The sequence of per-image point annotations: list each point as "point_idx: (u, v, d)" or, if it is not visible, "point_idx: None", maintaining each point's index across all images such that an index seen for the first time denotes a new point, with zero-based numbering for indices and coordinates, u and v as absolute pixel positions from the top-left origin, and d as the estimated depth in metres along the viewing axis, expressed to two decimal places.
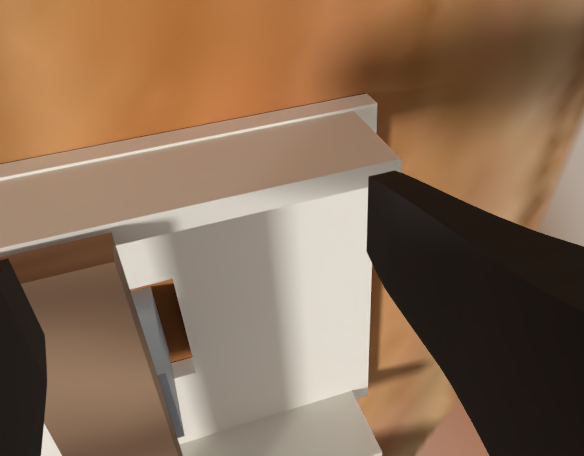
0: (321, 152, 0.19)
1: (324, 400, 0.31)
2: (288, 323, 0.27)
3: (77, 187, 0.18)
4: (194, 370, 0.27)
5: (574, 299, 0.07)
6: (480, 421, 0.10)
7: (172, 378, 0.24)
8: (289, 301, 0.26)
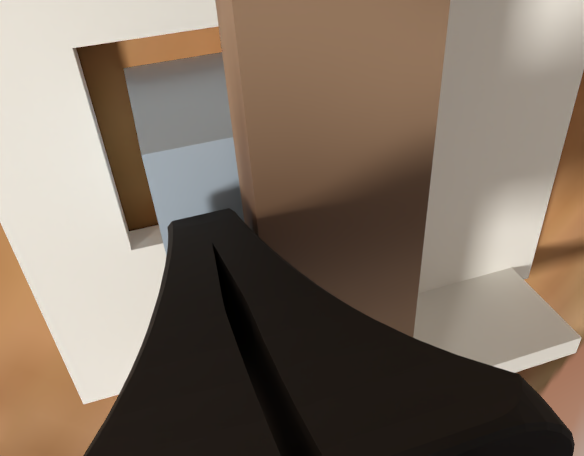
0: None
1: (477, 278, 0.22)
2: (460, 134, 0.18)
3: None
4: None
5: (299, 383, 0.06)
6: None
7: None
8: (470, 92, 0.17)
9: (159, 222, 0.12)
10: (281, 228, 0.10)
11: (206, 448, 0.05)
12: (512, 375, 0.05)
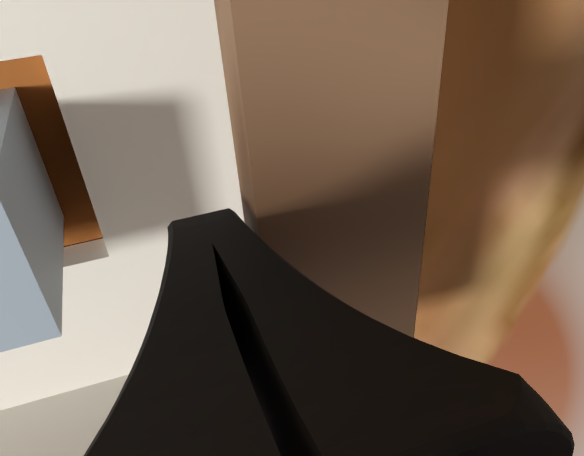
0: None
1: None
2: None
3: None
4: (106, 254, 0.16)
5: (299, 383, 0.06)
6: None
7: (50, 244, 0.14)
8: None
9: None
10: (281, 229, 0.10)
11: (206, 448, 0.05)
12: (512, 375, 0.05)
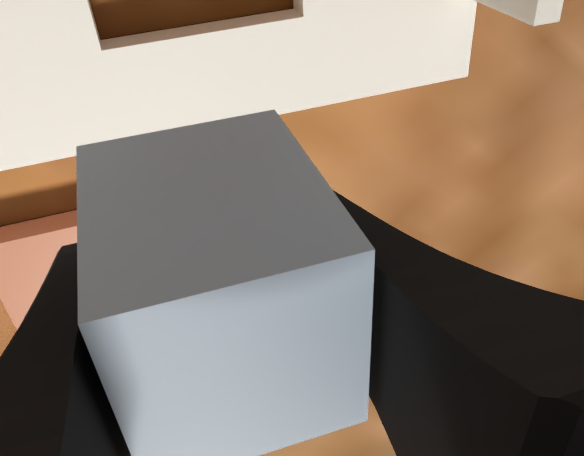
0: None
1: None
2: None
3: None
4: None
5: (462, 333, 0.06)
6: (399, 449, 0.09)
7: (264, 184, 0.09)
8: None
9: None
10: None
11: None
12: None
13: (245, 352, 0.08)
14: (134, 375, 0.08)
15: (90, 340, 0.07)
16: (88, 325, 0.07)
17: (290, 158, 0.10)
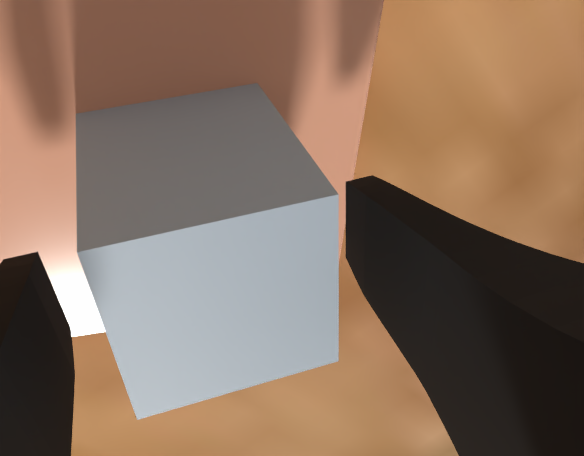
0: None
1: None
2: None
3: None
4: None
5: (538, 310, 0.07)
6: (454, 430, 0.09)
7: (244, 143, 0.10)
8: None
9: None
10: None
11: None
12: None
13: (225, 286, 0.09)
14: (126, 304, 0.09)
15: (87, 268, 0.08)
16: (86, 253, 0.08)
17: (269, 123, 0.11)
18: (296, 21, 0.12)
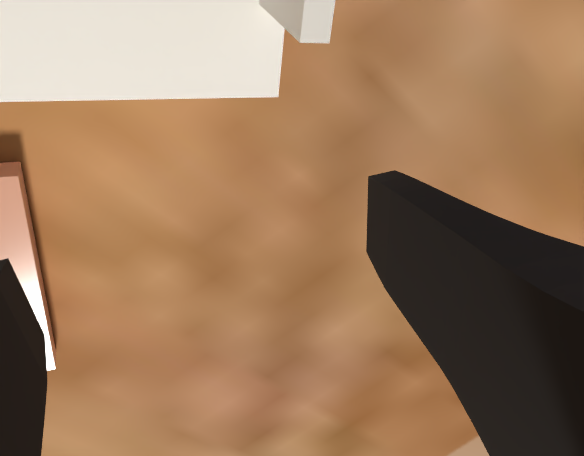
0: None
1: None
2: None
3: None
4: None
5: (574, 299, 0.07)
6: (480, 422, 0.10)
7: None
8: None
9: None
10: None
11: None
12: None
13: None
14: None
15: None
16: None
17: None
18: None
